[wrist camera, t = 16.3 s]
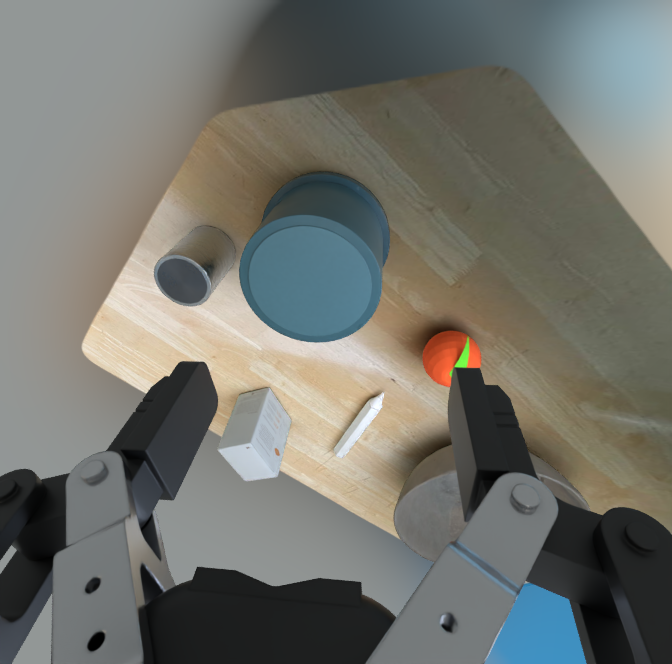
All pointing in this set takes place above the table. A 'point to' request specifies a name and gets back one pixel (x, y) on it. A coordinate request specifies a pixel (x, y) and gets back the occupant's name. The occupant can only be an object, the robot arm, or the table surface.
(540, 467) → the bowl
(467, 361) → the clementine
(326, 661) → the robot arm
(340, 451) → the white pencil
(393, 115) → the table surface
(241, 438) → the small box
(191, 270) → the cup
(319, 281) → the blue flanged cylinder
